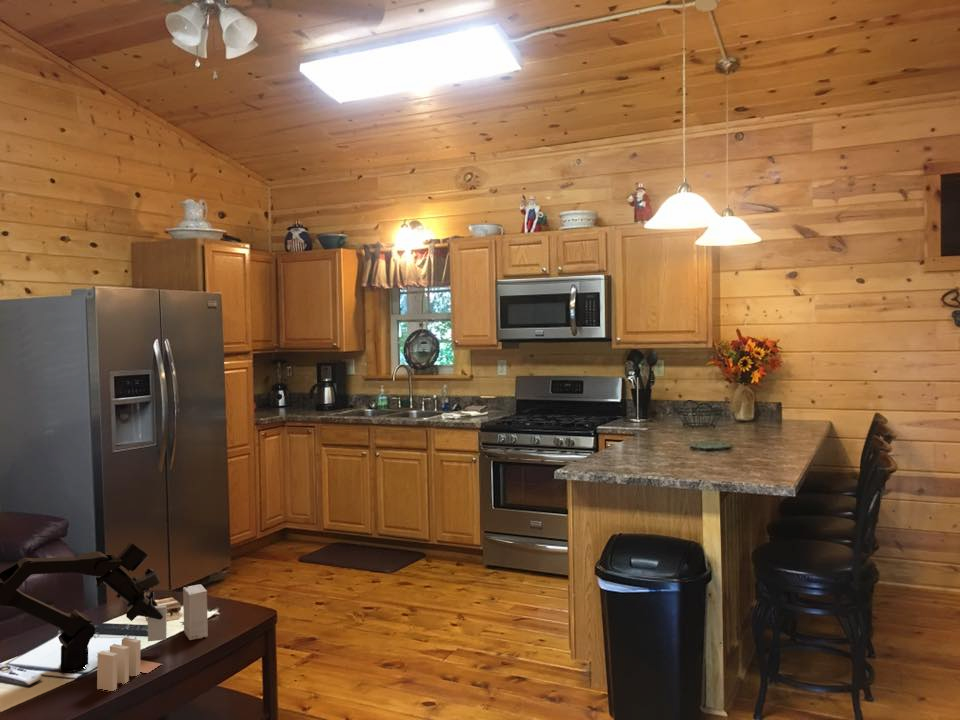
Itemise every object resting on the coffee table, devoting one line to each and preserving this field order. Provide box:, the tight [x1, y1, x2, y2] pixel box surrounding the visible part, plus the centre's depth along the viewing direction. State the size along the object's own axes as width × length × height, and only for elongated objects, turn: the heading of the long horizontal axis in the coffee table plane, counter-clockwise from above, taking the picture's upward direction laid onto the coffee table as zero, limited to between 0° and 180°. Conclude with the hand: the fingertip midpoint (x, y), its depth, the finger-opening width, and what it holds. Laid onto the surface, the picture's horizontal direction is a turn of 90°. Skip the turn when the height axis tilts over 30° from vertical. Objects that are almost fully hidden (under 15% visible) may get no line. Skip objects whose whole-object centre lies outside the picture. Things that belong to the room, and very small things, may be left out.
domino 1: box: [96, 650, 118, 692], centre depth 205 cm, size 2×5×10 cm, turn 74°
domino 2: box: [109, 643, 130, 685], centre depth 209 cm, size 2×5×10 cm, turn 74°
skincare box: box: [182, 584, 209, 641], centre depth 241 cm, size 8×6×15 cm
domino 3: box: [121, 637, 142, 677], centre depth 214 cm, size 2×5×10 cm, turn 74°
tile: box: [140, 659, 163, 674], centre depth 218 cm, size 9×6×1 cm, turn 74°
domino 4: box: [147, 605, 168, 642], centre depth 227 cm, size 2×5×10 cm, turn 107°
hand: (162, 617), depth 228 cm, fingers closed on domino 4, 2 cm apart
